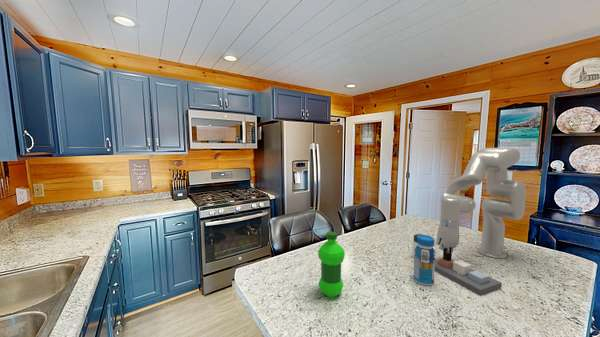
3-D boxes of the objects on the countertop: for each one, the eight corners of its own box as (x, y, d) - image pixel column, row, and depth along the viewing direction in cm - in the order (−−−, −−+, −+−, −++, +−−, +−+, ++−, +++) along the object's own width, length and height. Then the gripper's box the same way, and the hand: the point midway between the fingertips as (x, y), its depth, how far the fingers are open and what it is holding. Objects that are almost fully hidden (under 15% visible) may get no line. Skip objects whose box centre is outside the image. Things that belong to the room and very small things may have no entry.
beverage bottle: (408, 277, 105) (410, 235, 103) (421, 274, 108) (423, 232, 106) (425, 288, 97) (427, 242, 95) (438, 283, 100) (441, 239, 99)
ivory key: (459, 268, 109) (460, 259, 108) (471, 273, 104) (471, 264, 104) (452, 270, 107) (453, 261, 107) (463, 275, 102) (464, 266, 102)
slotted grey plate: (447, 262, 119) (447, 257, 119) (501, 288, 97) (501, 282, 97) (427, 267, 114) (427, 262, 114) (479, 295, 92) (480, 289, 92)
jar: (424, 263, 118) (425, 241, 117) (409, 257, 125) (410, 236, 124) (433, 259, 123) (434, 237, 122) (418, 253, 129) (419, 232, 128)
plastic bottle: (317, 285, 99) (317, 228, 97) (341, 286, 98) (343, 229, 96) (318, 300, 89) (319, 238, 87) (345, 301, 88) (347, 238, 86)
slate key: (475, 278, 102) (476, 270, 102) (488, 285, 98) (488, 276, 97) (468, 281, 101) (468, 272, 100) (480, 287, 96) (481, 278, 96)
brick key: (445, 264, 115) (446, 256, 115) (455, 269, 111) (456, 261, 110) (438, 266, 114) (439, 258, 113) (448, 271, 109) (448, 263, 109)
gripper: (452, 219, 116) (450, 254, 118) (431, 222, 111) (429, 259, 113) (467, 223, 110) (465, 260, 111) (445, 227, 104) (443, 266, 106)
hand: (447, 259), depth 112 cm, fingers closed
